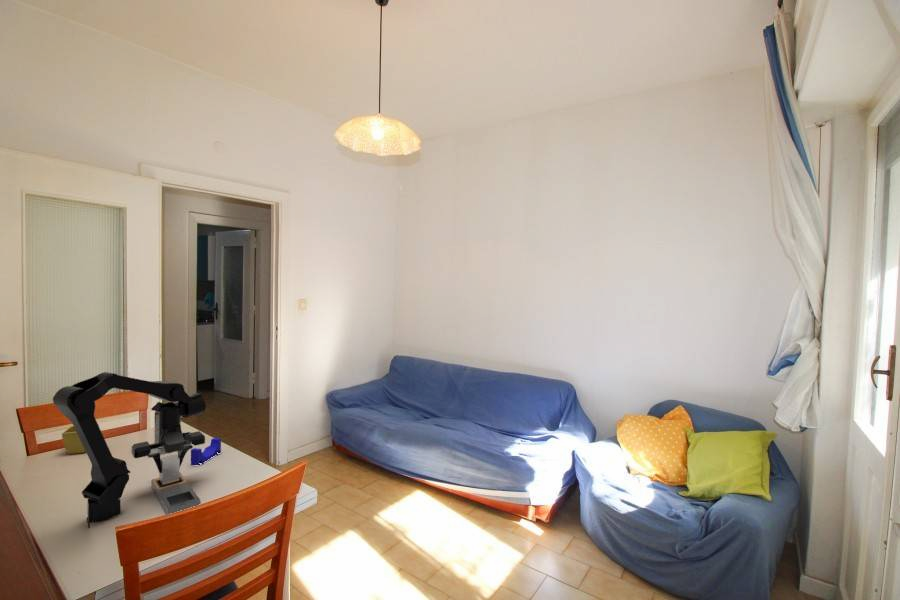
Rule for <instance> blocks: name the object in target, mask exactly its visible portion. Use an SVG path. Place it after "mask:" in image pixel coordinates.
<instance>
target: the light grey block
mask: <svg viewBox="0 0 900 600" xmlns="http://www.w3.org/2000/svg"><path fill="white" fill-rule="evenodd" d="M160 460H161V468H162V470H161V473H159V472H158V473H159V477H158V478H159V480H160V481H161V483H162V485H163V484H167V483H171V482H175V481H179V473H180V468H181V466H180V458H179V457H178V454H176V453H175V454H171V455H170V454H169V455H166V456H162V457H161V456H160Z"/></svg>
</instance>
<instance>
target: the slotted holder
mask: <svg viewBox="0 0 900 600" xmlns="http://www.w3.org/2000/svg"><path fill="white" fill-rule="evenodd" d="M150 486H151V489H152V490H153V492H154V494H155V495H156V497H157V499H158V501H159V503H160V505H161V506H162V509H163V510H164V512H165V515H167V514H170V513H174V512H177V511H180V510H184V509H187V508H190V507H193V506H197V505H199V504H201V499H200V497H199V495H197V493H196V491H195V490H194V489H193V487H192V486H191V485H190V483H189V482H188V481H187V479H186V478H185V477H184V475H183V474H182V472H180V471H179V481H175V482H171V483H167V484H163V485H162V483H161V481H160V480H159V477H157V478H153V479H151V482H150Z"/></svg>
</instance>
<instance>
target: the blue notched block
mask: <svg viewBox="0 0 900 600" xmlns="http://www.w3.org/2000/svg"><path fill="white" fill-rule="evenodd" d="M217 452H218V453H220V452H221V453H222V438H219V437H213V438H211V439H210V444H209V445H208V446H206V447H205V448H204V450H203V451H202V448H195V447H194V448H192V449H190V466H191V465H200V464H199V463H203V462H205V461H207V460H208V459H210V458H211V457H213V456H215V455H217ZM217 456H218V455H217ZM215 457H216V456H215ZM210 460H211V459H210ZM208 461H209V460H208ZM208 461H207V462H208ZM205 463H206V462H205ZM203 464H204V463H203ZM200 466H201V465H200Z"/></svg>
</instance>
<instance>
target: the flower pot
mask: <svg viewBox="0 0 900 600" xmlns="http://www.w3.org/2000/svg"><path fill="white" fill-rule="evenodd" d="M98 426H100V424H99V423H98ZM61 435H62V437H61V438H62V443H63V447H64V449H65V450H66V452H67V453H69V454H70V455H75V454H81V453H82V454H83V453H86V451H85V449H84V447H83V445H82V442H81V440H80V438H79V436H78V434H77V432H76V430H75V428H74V426H73V425H71V426H70V427H68V428H66V429H65V430H64V431H63V432H61Z"/></svg>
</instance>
